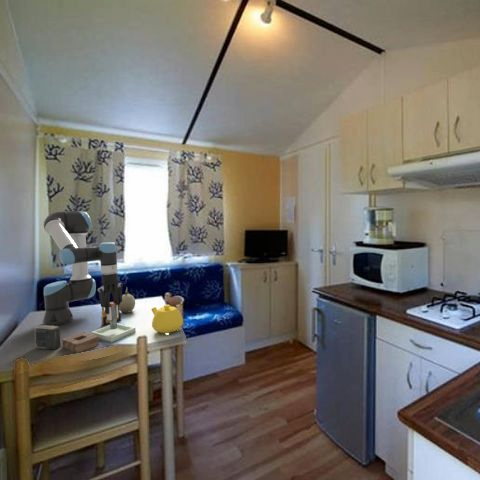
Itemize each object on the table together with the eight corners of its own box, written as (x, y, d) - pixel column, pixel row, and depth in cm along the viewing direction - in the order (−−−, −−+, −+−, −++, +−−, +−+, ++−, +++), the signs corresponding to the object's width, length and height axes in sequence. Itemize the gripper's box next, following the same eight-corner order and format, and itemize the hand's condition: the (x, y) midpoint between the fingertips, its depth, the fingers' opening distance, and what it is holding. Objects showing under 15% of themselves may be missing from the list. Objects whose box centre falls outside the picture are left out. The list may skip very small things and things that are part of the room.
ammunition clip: (103, 326, 159) (101, 305, 158) (101, 325, 160) (100, 304, 159) (121, 320, 168) (119, 300, 167) (119, 320, 169) (118, 300, 168)
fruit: (126, 316, 175) (124, 292, 174) (114, 313, 181) (112, 290, 180) (140, 311, 184) (138, 288, 183) (128, 308, 190) (127, 286, 189)
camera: (63, 345, 136) (61, 325, 135) (52, 351, 130) (50, 330, 129) (44, 344, 139) (42, 323, 138) (32, 349, 133) (30, 328, 132)
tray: (91, 336, 145) (91, 331, 145) (115, 327, 157) (115, 322, 157) (111, 342, 137) (111, 337, 137) (135, 332, 149) (135, 327, 149)
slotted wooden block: (63, 347, 133) (62, 339, 133) (83, 339, 142) (83, 331, 142) (77, 353, 127) (77, 344, 127) (98, 344, 136) (98, 336, 136)
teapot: (141, 331, 150) (139, 305, 149) (165, 322, 163) (164, 298, 162) (165, 339, 138) (163, 312, 137) (189, 329, 151) (188, 303, 150)
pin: (108, 328, 146) (107, 303, 145) (114, 326, 149) (112, 301, 148) (112, 330, 145) (111, 304, 144) (118, 327, 147) (116, 302, 147)
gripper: (99, 276, 136) (102, 324, 138) (128, 270, 150) (131, 314, 152) (89, 275, 140) (93, 322, 142) (118, 269, 154) (121, 312, 155)
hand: (112, 318), depth 147 cm, fingers closed on pin, 3 cm apart
